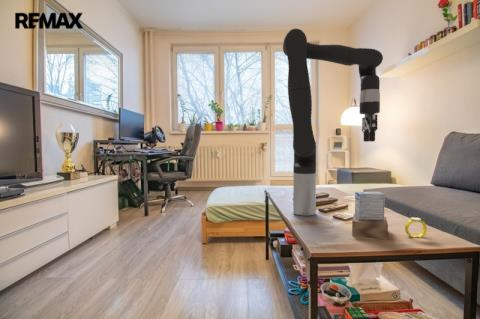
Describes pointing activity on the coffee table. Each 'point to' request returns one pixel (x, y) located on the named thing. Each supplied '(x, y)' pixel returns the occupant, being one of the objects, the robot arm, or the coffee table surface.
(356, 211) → the medicine box
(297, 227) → the coffee table surface
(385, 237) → the walnut block
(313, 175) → the robot arm
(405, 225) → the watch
